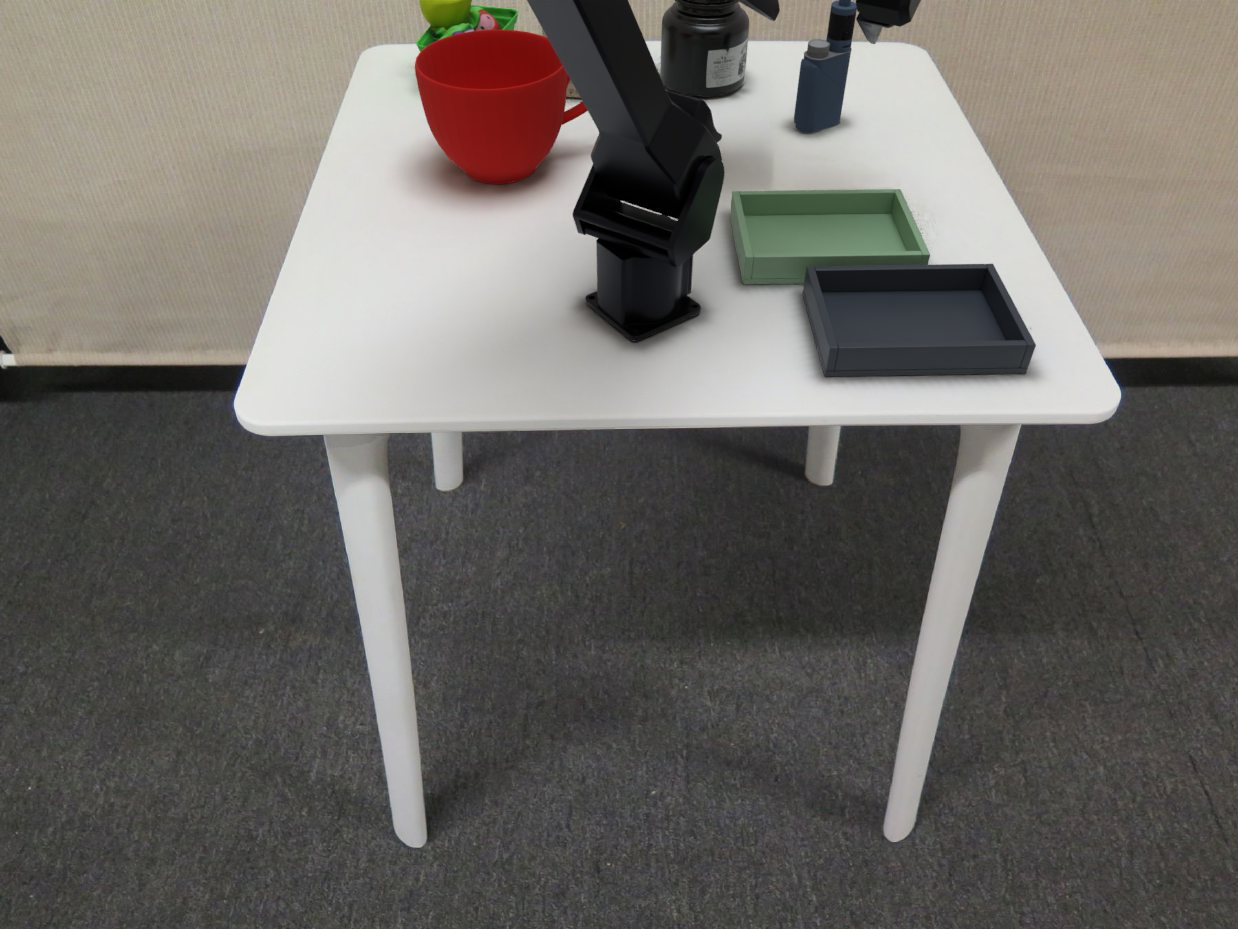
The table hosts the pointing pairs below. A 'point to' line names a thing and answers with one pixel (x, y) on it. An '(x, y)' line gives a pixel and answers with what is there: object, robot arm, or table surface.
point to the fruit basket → (461, 19)
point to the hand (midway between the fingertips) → (824, 26)
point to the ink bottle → (704, 47)
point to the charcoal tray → (915, 320)
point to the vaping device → (825, 72)
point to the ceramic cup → (494, 101)
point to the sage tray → (821, 232)
